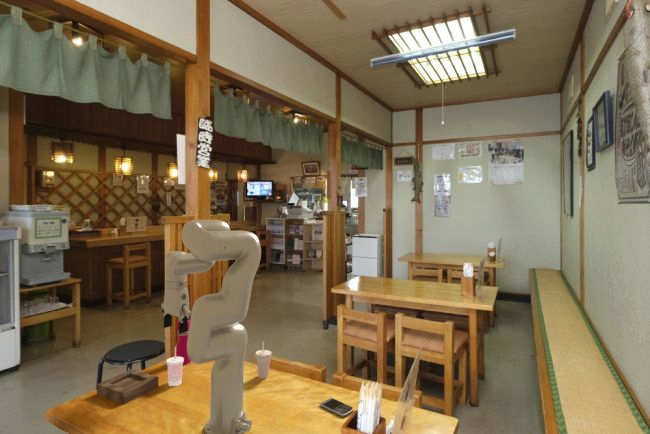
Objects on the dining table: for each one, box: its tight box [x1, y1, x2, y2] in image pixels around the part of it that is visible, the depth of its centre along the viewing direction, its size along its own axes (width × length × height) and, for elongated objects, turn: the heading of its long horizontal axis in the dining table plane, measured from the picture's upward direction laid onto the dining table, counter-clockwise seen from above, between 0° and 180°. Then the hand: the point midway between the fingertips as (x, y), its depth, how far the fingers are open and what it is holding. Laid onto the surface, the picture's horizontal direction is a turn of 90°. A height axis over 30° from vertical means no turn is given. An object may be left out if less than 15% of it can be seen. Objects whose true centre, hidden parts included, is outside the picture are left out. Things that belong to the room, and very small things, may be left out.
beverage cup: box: [166, 345, 184, 387], centre depth 143 cm, size 6×6×14 cm
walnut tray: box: [96, 369, 160, 405], centre depth 137 cm, size 14×14×4 cm
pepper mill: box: [176, 316, 192, 366], centre depth 163 cm, size 7×7×20 cm
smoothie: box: [254, 341, 273, 380], centre depth 150 cm, size 6×6×14 cm
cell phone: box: [318, 397, 355, 418], centre depth 128 cm, size 6×11×1 cm, turn 49°
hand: (175, 329), depth 143 cm, fingers open, 9 cm apart
